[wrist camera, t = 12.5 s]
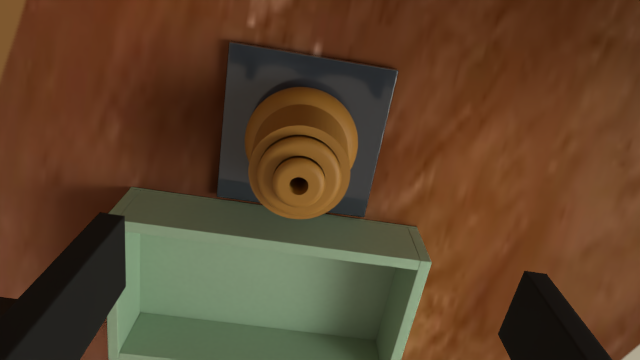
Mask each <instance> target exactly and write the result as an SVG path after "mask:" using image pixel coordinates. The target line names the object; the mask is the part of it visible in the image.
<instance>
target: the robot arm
mask: <svg viewBox="0 0 640 360" xmlns="http://www.w3.org/2000/svg"><path fill="white" fill-rule="evenodd" d="M125 287H126V257H125V216H122V215H115V214H108V213H99V214H98V215H97V216H96V217H95V218H94V219H93V220H92V221H91V222H90V223H89V224H88V226H87V227H86V228H85V229H84V230H83V231H82V232H81V233H80V234H79V235H78V236H77V237H76V238H75V239H74V240H73V241H72V242H71V243H70V245H69V246H68V247H67V248H66V249H65V250H64V251H63V252H62V253H61V254H60V255H59V256H58V257H57V258H56V259H55V260H54V261H53V262H52V264H51V265H50V266H49V267H48V268H47V269H46V270H45V271H44V272H43V273H42V274H41V275H40V276H39V277H38V278H37V279H36V280H35V282H34V283H33V284H32V285H31V286H30V287H29V288H28V289H27V290H26V291H25V292H24V293H23V294H22V295H21V296H20V297H19V298H18V299H12V298H4V297H0V360H80V358H81V357H82V355H83V354H84V352H85V351H86V349H87V347H88V346H89V344H90V343H91V341H92V340H93V338H94V336H95V335H96V333H97V332H98V330H99V328H100V327H101V325H102V324H103V322H104V321H105V319H106V317H107V316H108V314H109V313H110V311H111V309H112V308H113V306H114V305H115V303H116V302H117V300H118V298H119V297H120V295H121V294H122V292H123V291H124V289H125ZM498 335H499V337H500V339H501V341H502V343H503V345H504V347H505V349H506V351H507V353H508V355H509V357H510V359H511V360H612V359H611V357H610V356H609V355H608V353H607V352H606V351H605V350H604V348H603V347H602V346H601V344H600V343H599V342H598V340H597V339H596V338H595V337H594V335H593V334H592V333H591V331H590V330H589V329H588V327H587V326H586V325H585V324H584V322H583V321H582V320H581V318H580V317H579V316H578V314H577V313H576V312H575V311H574V309H573V308H572V307H571V305H570V304H569V303H568V301H567V300H566V299H565V298H564V296H563V295H562V294H561V292H560V291H559V290H558V288H557V287H556V286H555V285H554V283H553V282H552V281H551V279H550V278H549V277H548V275H547V274H543V273H535V272H528V271H524V273H523V276H522V278H521V280H520V283H519V285H518V288H517V290H516V292H515V295H514V297H513V300H512V302H511V304H510V307H509V309H508V312H507V314H506V316H505V319H504V321H503V323H502V326H501V328H500V331H499V333H498Z"/></svg>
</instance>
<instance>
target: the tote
mask: <svg viewBox="0 0 640 360" xmlns="http://www.w3.org/2000/svg"><path fill="white" fill-rule="evenodd" d="M108 214H115V215H122V216H125V257H126V287H125V289H124V291H123V292H122V294H121V295H120V297H119V298H118V300H117V302H116V303H115V305H114V306H113V308H112V309H111V311H110V313H109V314H108V316H107V335H108V359H109V360H401V358H402V354H403V351H404V348H405V345H406V342H407V339H408V335H409V332H410V329H411V326H412V323H413V320H414V317H415V313H416V310H417V307H418V304H419V301H420V298H421V294H422V291H423V288H424V285H425V282H426V279H427V276H428V272H429V269H430V266H431V263H432V262H431V260H430V257H429V255H428V253H427V250H426V248H425V246H424V243H423V241H422V238H421V236H420V234H419V231H418V229H417V227H414V226H407V225H400V224H392V223H385V222H378V221H371V220H364V219H357V218H350V217H343V216H335V215H328V214H322V215H320V216H317V217H314V218H309V219H291V218H286V217H282V216H280V215H277V214H275V213H273V212H272V211H270V210H269V209H267V208H266V207H265V206H264V205H257V204H250V203H243V202H236V201H228V200H221V199H214V198H207V197H200V196H193V195H186V194H179V193H171V192H164V191H157V190H150V189H143V188H136V187H131V188H130V189H129V191H128V192H127V193H126V194H125V195H124V196H123V197H122V198H121V200H120V201H119V202H118V203H117V204H116V205H115V206H114V208H113V209H112V210H111V211H110V212H109V213H108Z"/></svg>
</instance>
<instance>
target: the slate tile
mask: <svg viewBox="0 0 640 360" xmlns="http://www.w3.org/2000/svg"><path fill="white" fill-rule="evenodd" d="M397 75H398V70H397V69H394V68H388V67H382V66H376V65H370V64H364V63H358V62H352V61H347V60H341V59H335V58H329V57H323V56H317V55H311V54H305V53H299V52H293V51H287V50H281V49H275V48H269V47H264V46H258V45H252V44H246V43H240V42H234V41H231V42H229V52H228V64H227V76H226V88H225V101H224V113H223V125H222V137H221V150H220V162H219V174H218V186H217V197H223V198H230V199H238V200H245V201H252V202H259V203H261V202H260V201H259V200H258V199H257V197H256V196H255V194H254V192H253V190H252V188H251V185H250V182H249V175H248V168H249V161H248V159H247V155H246V151H245V132H246V128H247V124H248V122H249V119H250V117H251V115H252V114H253V112H254V111H255V109H256V108H257V107H258V106H259V104H260V103H261V102H263V101H264V100H265V99H266V98H267V97H269V96H270V95H272V94H274V93H276V92H278V91H281V90H284V89H287V88H292V87H309V88H315V89H318V90H321V91H324V92H326V93H328V94H330V95H331V96H333V97H334V98H336V99H337V100H338V101H339V102H341V103H342V104H343V105H344V107H345V108H346V109H347V110H348V112H349V113H350V115H351V117H352V119H353V121H354V123H355V126H356V130H357V135H358V149H357V155H356V158H355V161H354V164H353V166H352V168H351V169H350V181H349V185H348V188H347V191H346V193H345V195H344V196H343V198H342V199H341V201H340V202H339V203H338V204H337V205H336V206H335V207H334V208H332V209H331V210H330V211H328V212H330V213H337V214H344V215H351V216H358V217H364V216H365V212H366V208H367V203H368V199H369V195H370V191H371V186H372V182H373V178H374V173H375V169H376V165H377V161H378V156H379V152H380V148H381V144H382V139H383V135H384V131H385V126H386V122H387V118H388V114H389V109H390V105H391V101H392V96H393V92H394V88H395V84H396V79H397ZM267 150H268V148H267ZM334 154H335V153H334Z"/></svg>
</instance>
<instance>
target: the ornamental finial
mask: <svg viewBox="0 0 640 360" xmlns="http://www.w3.org/2000/svg"><path fill="white" fill-rule="evenodd" d="M267 148H268V150H267ZM357 149H358V135H357V130H356V126H355V123H354V121H353V119H352V117H351V115H350V113H349V112H348V110H347V109H346V108H345V107H344V105H343V104H342V103H341V102H339V101H338V100H337V99H336V98H334V97H333V96H331V95H330V94H328V93H326V92H324V91H321V90H318V89H315V88H309V87H292V88H287V89H284V90H281V91H278V92H276V93H274V94H272V95H270V96H269V97H267V98H266V99H265V100H264V101H263V102H261V103H260V104H259V106H258V107H257V108H256V109H255V111H254V112H253V114H252V115H251V117H250V119H249V122H248V124H247V128H246V132H245V151H246V155H247V159H248V161H249V168H248V175H249V182H250V185H251V188H252V190H253V192H254V194H255V196H256V197H257V199H258V200H259V201H260V202H261V203H262V204H263V205H264V206H265V207H266V208H267V209H269V210H270V211H272V212H273V213H275V214H277V215H280V216H282V217H286V218H291V219H309V218H314V217H317V216H320V215H322V214H324V213H326V212H328V211H330V210H331V209H332V208H334V207H335V206H336V205H337V204H338V203H339V202H340V201H341V199H342V198H343V196H344V195H345V193H346V191H347V188H348V185H349V181H350V169H351V168H352V166H353V164H354V161H355V158H356V155H357ZM334 153H335V154H334Z"/></svg>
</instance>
